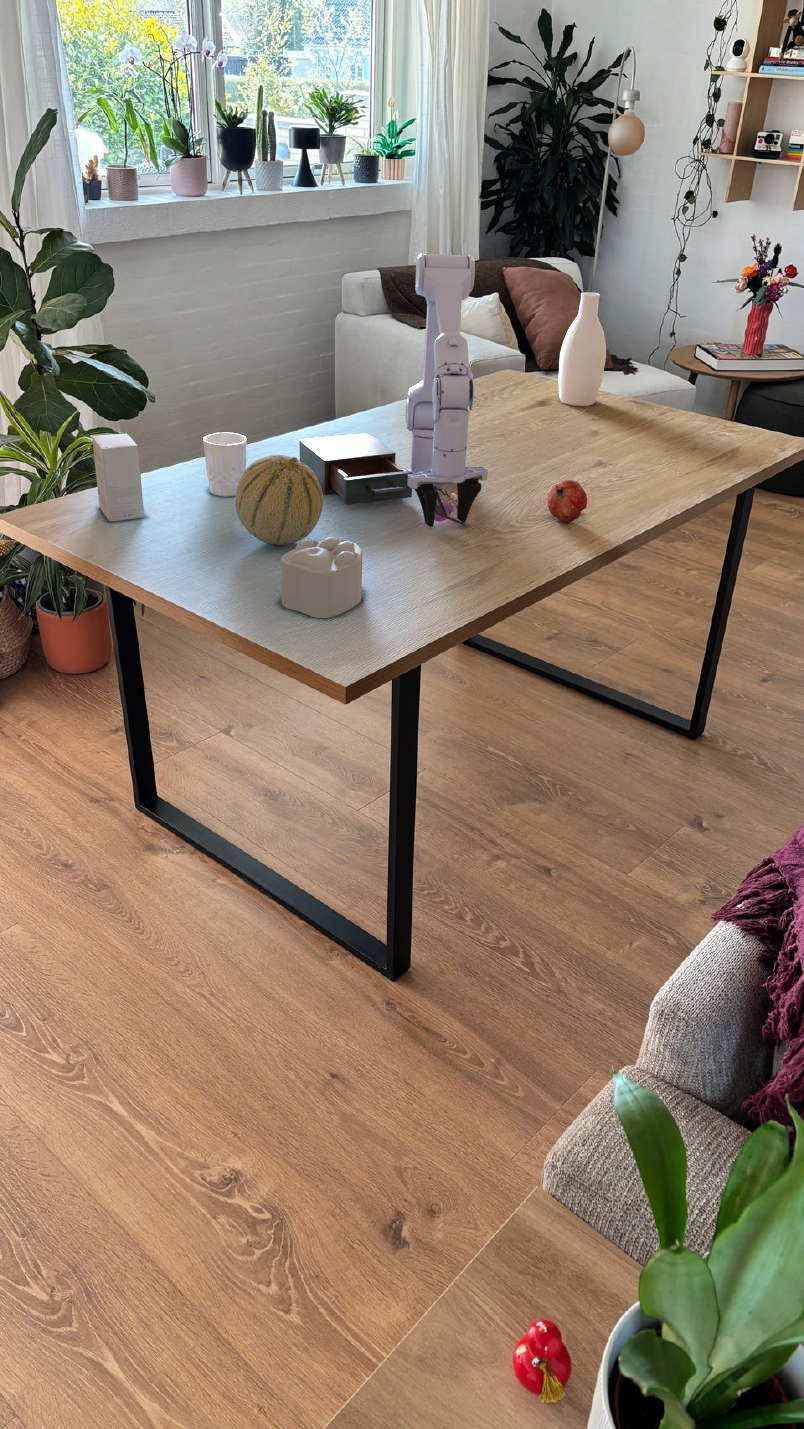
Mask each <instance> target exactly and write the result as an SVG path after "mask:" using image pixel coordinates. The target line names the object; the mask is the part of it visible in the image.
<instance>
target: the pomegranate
mask: <svg viewBox="0 0 804 1429" xmlns="http://www.w3.org/2000/svg"><path fill="white" fill-rule="evenodd" d="M546 502H547V509H548V511H549V513H550V514H551V515H552V517H555V518H556V519H559V520H561V521H563V522H566V523H567V522H569V523H571V522H573V521H575V520H577V519H578V518H579V517H580V516H581V515H582V512H583V511H584V510H585V509H586V508H587V506H588V495H587V493H586V491H585V490H584V488H583V486H581V484H580V483H579V482H577V481H575V480H574V479H567V480H566V479H565V480H563V481H561V482H559V483H558V484H557V483H556V484H554V485H553V486H552V487H551V489H550V491H549V494H548V496H547V501H546Z"/></svg>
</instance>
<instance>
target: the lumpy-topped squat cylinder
mask: <svg viewBox="0 0 804 1429" xmlns="http://www.w3.org/2000/svg"><path fill="white" fill-rule="evenodd" d="M280 575H281V576H280V580H281V581H280V582H281V584H280V585H281V586H280V587H281V605H282V607H283V608H286V609H288V610H293V611H296V612H300V613H302V614H305V615H307V616H309V617H311V618H312V617H313V618H315V619H328V618H329V619H330V618H333V617H337V616H339V615H341V614H343V613H345V612H347V611H349V610H351V609H353V608H354V607H356V606H357V605H358V604H360V602H361V599H362V596H363V595H362V592H363V591H362V590H363V589H362V586H363V550H362V549H361V547H360V546H359V545H358V544H357V543H355V542H352V541H348V540H344V539H338V538H336V537H334V536H329V537H328V536H327V537H325V538H324V539H323V540H312V539H309V538H303V539H301V540H299V541H298V542H297V544H296V546H295V548H293V549H291V550H289V551H288V552H286V553H284V554H283V555H282V556H281V558H280Z"/></svg>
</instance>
